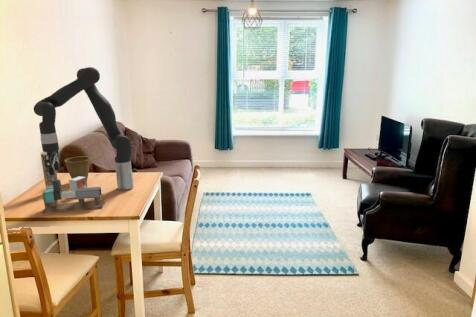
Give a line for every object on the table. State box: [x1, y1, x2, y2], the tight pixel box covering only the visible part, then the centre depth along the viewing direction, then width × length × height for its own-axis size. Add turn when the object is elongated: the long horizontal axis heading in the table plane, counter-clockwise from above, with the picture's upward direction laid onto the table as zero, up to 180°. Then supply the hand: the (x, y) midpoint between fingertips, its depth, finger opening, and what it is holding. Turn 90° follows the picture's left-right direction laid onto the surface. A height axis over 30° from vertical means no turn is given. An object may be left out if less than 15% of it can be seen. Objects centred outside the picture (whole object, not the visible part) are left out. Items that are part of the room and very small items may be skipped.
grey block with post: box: [52, 179, 76, 201], centre depth 185 cm, size 19×4×10 cm, turn 100°
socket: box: [42, 188, 56, 204], centre depth 185 cm, size 5×6×6 cm
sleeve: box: [75, 186, 102, 200], centre depth 188 cm, size 12×5×5 cm, turn 100°
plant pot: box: [64, 155, 91, 181], centre depth 230 cm, size 15×15×16 cm
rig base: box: [42, 197, 106, 214], centre depth 188 cm, size 29×10×6 cm, turn 100°
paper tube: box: [40, 151, 59, 190], centre depth 209 cm, size 7×7×25 cm
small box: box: [68, 176, 88, 191], centre depth 206 cm, size 8×6×10 cm
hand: (54, 172), depth 182 cm, fingers open, 8 cm apart
